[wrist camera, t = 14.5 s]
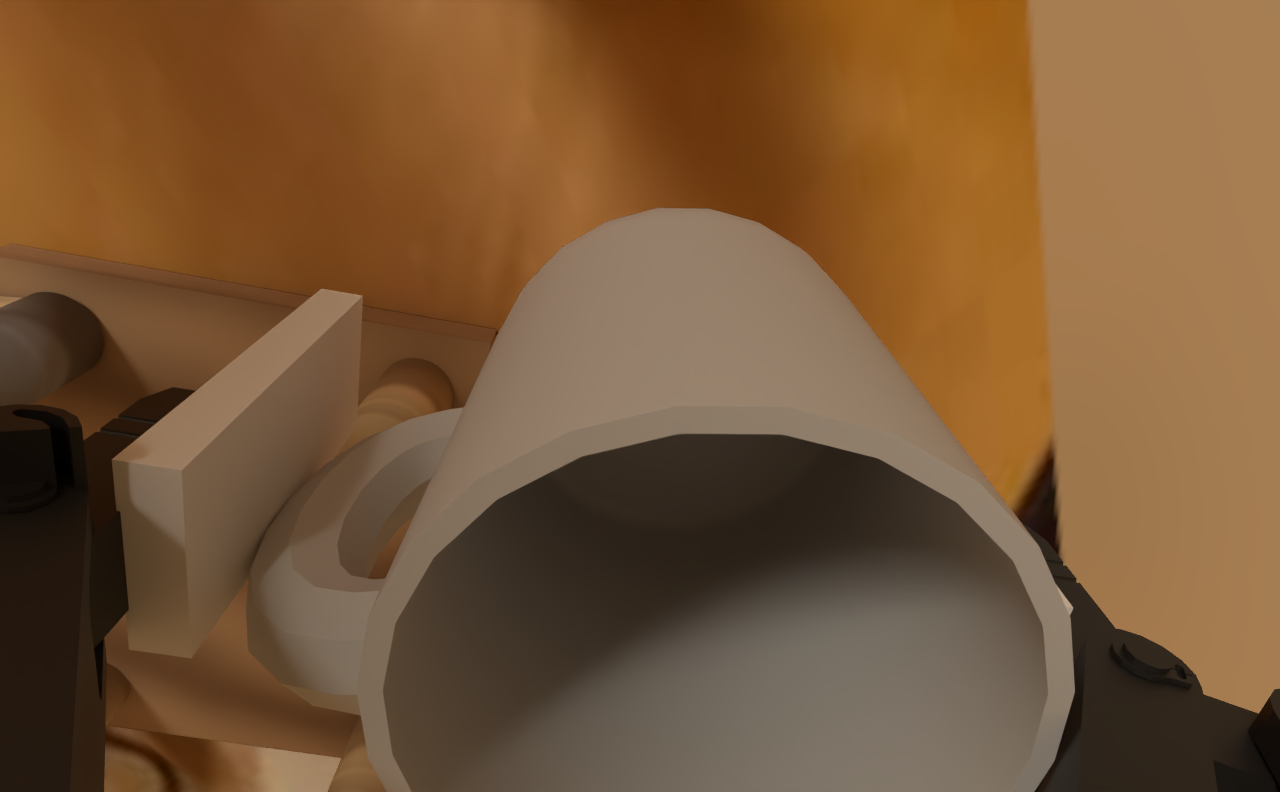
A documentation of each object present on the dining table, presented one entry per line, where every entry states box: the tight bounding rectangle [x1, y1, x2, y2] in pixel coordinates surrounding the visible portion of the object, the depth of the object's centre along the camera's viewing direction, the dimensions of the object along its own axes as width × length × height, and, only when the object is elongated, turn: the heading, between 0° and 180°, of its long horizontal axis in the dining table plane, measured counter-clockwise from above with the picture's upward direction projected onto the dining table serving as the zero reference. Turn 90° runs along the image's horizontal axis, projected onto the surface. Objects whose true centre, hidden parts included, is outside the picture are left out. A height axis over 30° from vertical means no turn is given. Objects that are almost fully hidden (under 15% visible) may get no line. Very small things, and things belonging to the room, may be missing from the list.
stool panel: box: [0, 244, 497, 792], centre depth 32 cm, size 24×25×6 cm
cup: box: [246, 208, 1075, 792], centre depth 13 cm, size 7×10×9 cm
